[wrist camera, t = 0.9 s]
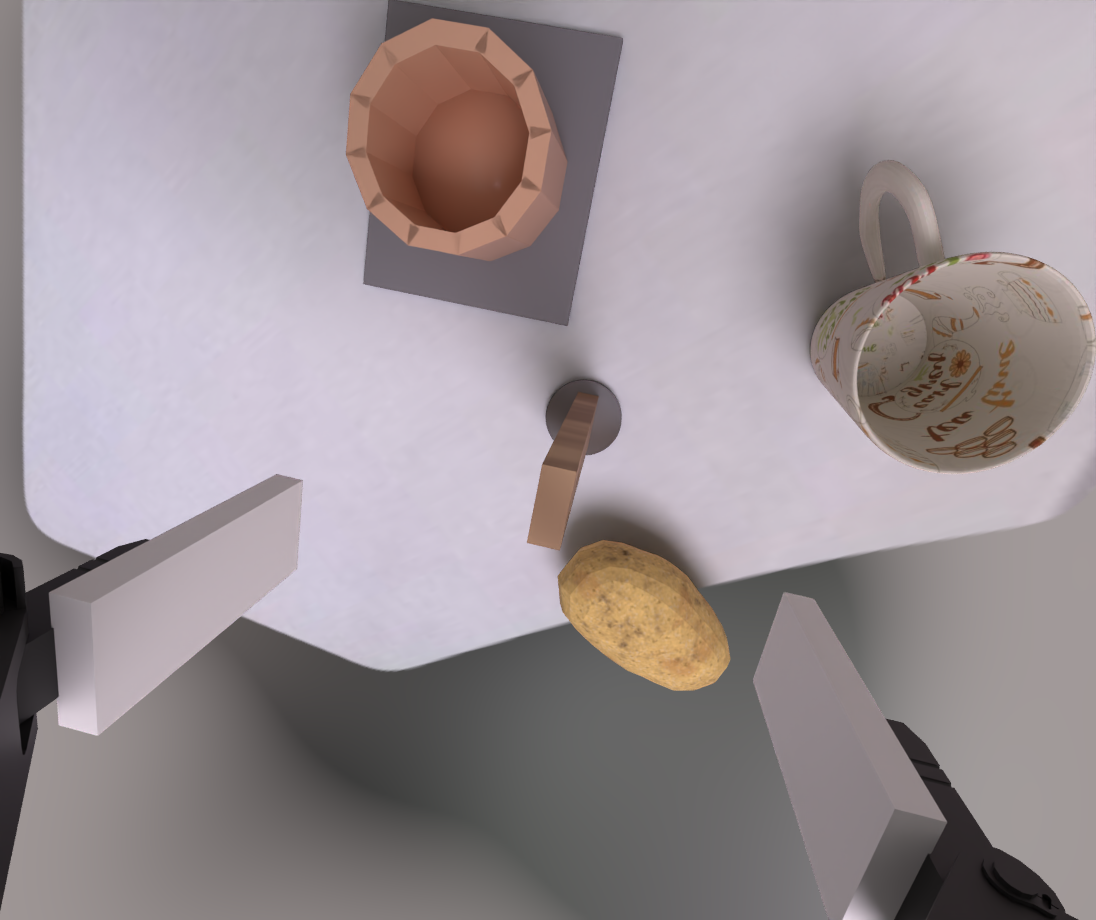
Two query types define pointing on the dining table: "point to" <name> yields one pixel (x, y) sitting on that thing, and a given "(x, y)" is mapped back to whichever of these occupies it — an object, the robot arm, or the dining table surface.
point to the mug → (953, 345)
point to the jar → (455, 142)
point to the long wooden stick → (570, 453)
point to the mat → (581, 117)
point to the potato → (643, 615)
